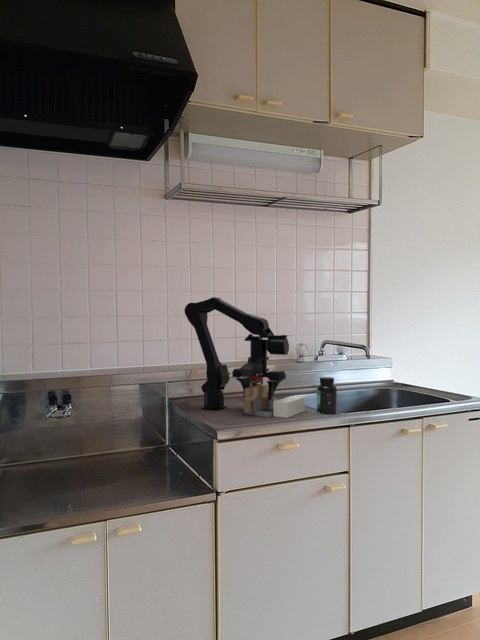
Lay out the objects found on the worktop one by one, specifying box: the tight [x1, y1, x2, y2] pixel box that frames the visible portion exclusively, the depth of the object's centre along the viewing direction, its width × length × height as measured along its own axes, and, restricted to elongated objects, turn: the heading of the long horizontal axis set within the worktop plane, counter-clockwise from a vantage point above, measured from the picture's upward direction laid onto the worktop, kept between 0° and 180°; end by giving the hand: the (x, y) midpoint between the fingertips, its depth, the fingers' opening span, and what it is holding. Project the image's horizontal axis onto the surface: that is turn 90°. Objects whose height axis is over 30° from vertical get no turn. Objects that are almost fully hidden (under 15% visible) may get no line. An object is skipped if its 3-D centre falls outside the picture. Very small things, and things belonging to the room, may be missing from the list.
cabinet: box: [242, 395, 306, 419], centre depth 172 cm, size 15×16×5 cm
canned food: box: [243, 374, 264, 399], centre depth 197 cm, size 8×8×11 cm
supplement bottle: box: [316, 376, 338, 414], centre depth 173 cm, size 7×7×12 cm
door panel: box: [245, 383, 269, 413], centre depth 173 cm, size 14×2×8 cm, turn 146°
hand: (258, 398), depth 173 cm, fingers open, 9 cm apart
